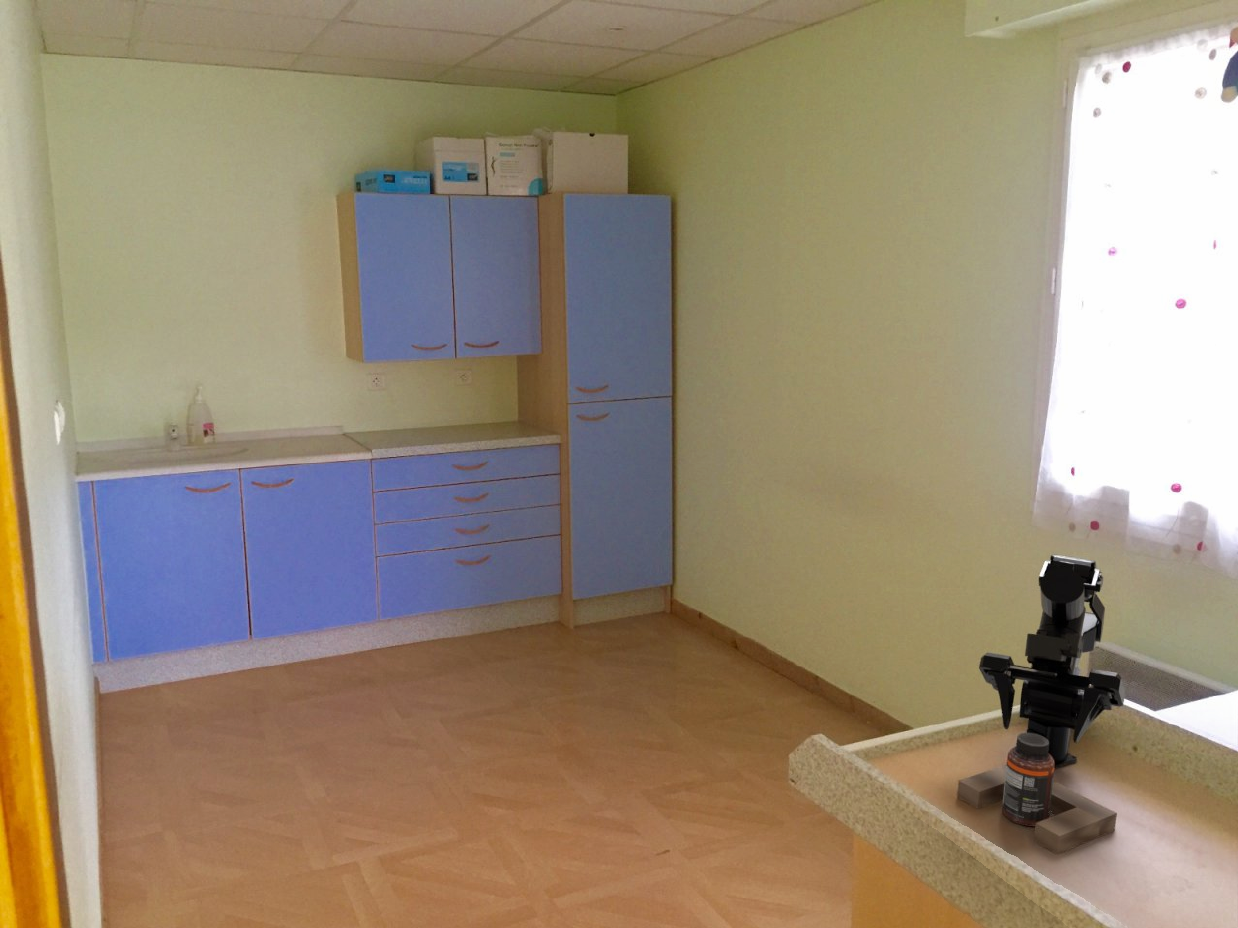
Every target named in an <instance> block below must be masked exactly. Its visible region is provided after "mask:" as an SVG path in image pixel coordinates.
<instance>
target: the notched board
mask: <svg viewBox="0 0 1238 928" xmlns="http://www.w3.org/2000/svg"><path fill="white" fill-rule="evenodd" d="M1006 765H1007V764H1004V765H1002V766H998V767H995V768H992V769H990V770H989V769H988V770H987V771H984V772H980V773H977V774H975V775H971V776H968V777H965V778H963V779H959V780H958V784H957V785H958V786H957V787H958V788H957V794H956V796H957V798H958V799H960V800H962V801H963V802H965V803H967V804H969V805H970V806H972V807H973V808H976V809H977V810H978V809H980V808H983V807H985V806H986V807H987V806H989V805H992V804H994V803H997V802H1000V801H1003V794H1004V784H1005V774H1006ZM1049 812H1050V813H1052V814H1055V815H1053V816H1051V817H1049V818H1048V819H1045V820H1042V821H1040V822H1037V823H1036V825H1035V826H1034V834H1033V841H1034V842H1036V843H1037V844H1039V845H1040V846H1042V847H1044V848H1045V849H1047V850H1050V851H1051V852H1052V853H1054V854H1056V855H1058V854H1061V853H1063V852H1065V851H1067V850H1071V849H1073V848H1075V847H1078V846H1080V845H1082V844H1085V843H1087V842H1090V841H1092V840H1094V839H1097V838H1099V837H1102V836H1104V835H1107V834H1109V833H1112V832H1114V831H1115V830H1116V824H1117V816H1118V813H1117V812H1116V811H1114V810H1111V809H1110V808H1108V807H1106V806H1103V805H1102V804H1099V803H1098V802H1096V801H1094V800H1092V799H1090V798H1088V797H1086V796H1084V795H1082V794H1080V793H1078V792H1076V791H1074V790H1072V789H1070V788H1068V787H1066V786H1065V785H1062V784H1061V783H1059V782H1056V781H1054V780H1053V785H1052V794H1051V802H1050V811H1049Z"/></svg>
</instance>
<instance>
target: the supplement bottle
mask: <svg viewBox="0 0 1238 928" xmlns="http://www.w3.org/2000/svg"><path fill="white" fill-rule="evenodd" d="M1048 751H1049V741H1048V740H1047V739H1046V738H1045V737H1043V736H1041V735H1038V734H1034V733H1026V732H1022V733H1019V734H1018V735H1017V737H1016V743H1015V746H1014V747H1012V748H1010V750H1009V751H1008V753H1007V757H1006V758H1007V759H1006V764H1005V765H1006V774H1005V784H1004V794H1003V800H1002V806H1001V807H1002V808H1001V809H1002V814H1004V816H1005V817H1006V818H1007V819H1008V820H1010V821H1012V822H1013V823H1015V824H1019V825H1023V826H1028V827H1035V825H1036V823H1037V822H1040V821H1042V820H1045V819H1048V818H1050V817H1049V816H1050V812H1051V811H1050V802H1051V794H1052V785H1053V781H1054V774H1055V769H1054V767H1055V763H1054V759H1053V757H1052V756H1051V755H1050V754H1049V753H1048Z"/></svg>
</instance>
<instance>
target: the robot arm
mask: <svg viewBox="0 0 1238 928" xmlns="http://www.w3.org/2000/svg"><path fill="white" fill-rule="evenodd" d="M1049 559H1050V560H1048V559H1047V560H1045V561H1044V562H1043V566H1042V568H1041V571H1040V573H1039V576H1038V586H1039V591H1040V603H1041V604H1040V605H1041V609H1042V611H1041V612H1042V613H1041V617H1040V623H1039V627H1038V628H1037V630H1036V633H1027V635H1026V643H1025V651H1024V656H1025V657H1027V658H1026V662H1027V663H1028V664H1030V667H1028V666H1024V665H1023V666H1022V665H1017V664H1016V665H1015V663H1014V660H1013V658H1012V656H1011V655H1007V654H1006V655H1005V654H999V653H993V652H985V653H984V654H983V655H982V656H981V657H980V662H979V666H978V669H979V671H980V672H981V675H982V677H983V679H984V681H985V683H987V684H989V685H991V686H992V689H994V690H995V691H997V692H998V696H999V703H1000V709H1001V716H1002V717H1001V718H1002V723H1003V728H1004V729H1005V730H1008V729H1009V727H1010V724H1011V720H1012V714H1013V713H1012V712H1013V708H1014V700H1015V694H1016V690H1015V688H1014V684H1015V683H1016V680H1020V681H1022V686H1021V692H1020V703H1019V717H1018V718H1021V719H1028V720H1027V729H1026V730H1025V733H1034V734H1038V735H1041V736H1043V737H1045V738H1046V739H1047V740H1048V741H1049V751H1048V753H1049V754H1050V755H1051V756H1052V757H1053V759H1054V763H1055V767H1054V770H1056V769H1057V768H1061V767H1062V766H1063V767H1064V766H1066V765H1069V764H1072V763H1074V762H1077V761H1078V757H1077V756H1075V755H1073V754H1072V753H1069V749H1070V742H1071V737H1072V736H1071V735H1072V730H1073V738H1072V741H1073V743H1075V744H1078V742H1079V741H1080V740H1081V738H1082V737H1083V735H1084V734H1085V732H1086V731H1087V730H1088V729H1089V727H1090V726H1091V724H1092V723H1093V722H1094V721H1095V720H1096V719H1097V718H1098V717H1099V716H1100V715H1101V714H1102V713H1103V712H1104V711H1112V710H1113V706H1114V707H1119V708H1120V707H1123V706H1124V703H1125V695H1126V690H1125V689H1126V688H1125V686H1124V681H1123V678H1122V677H1121V675H1120V674H1119V673H1118V672H1114V671H1107V670H1101V669H1094V668H1091V669H1090V670H1089V673H1088V676H1085V675H1082V674H1081V672H1082V671H1081V668H1080V667H1079V664H1080V662H1081V661H1080V660H1081V658H1082V655H1083V654H1085V653H1092V652H1094V651H1095V648H1096V645H1097V643H1102V638H1103V637H1102V636H1103V631H1104V620H1105V614H1106V613H1105V612H1106V607H1105V605H1104V604H1103V602H1102V601H1101V599H1100V598H1099V596H1098V594H1097V593H1100V592H1101V590H1102V587H1103V585H1104V584H1103V583H1104V576H1103V575H1102V571H1101V568H1097V562H1096V560H1092V559H1087V558H1081V557H1080V558H1079V557H1073V556H1067V555H1061V554H1051V555H1050V558H1049ZM1085 603H1088V605H1089V606H1088V607H1089V608H1090V610H1091V612H1089V611H1087V609H1086V607H1085Z"/></svg>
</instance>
